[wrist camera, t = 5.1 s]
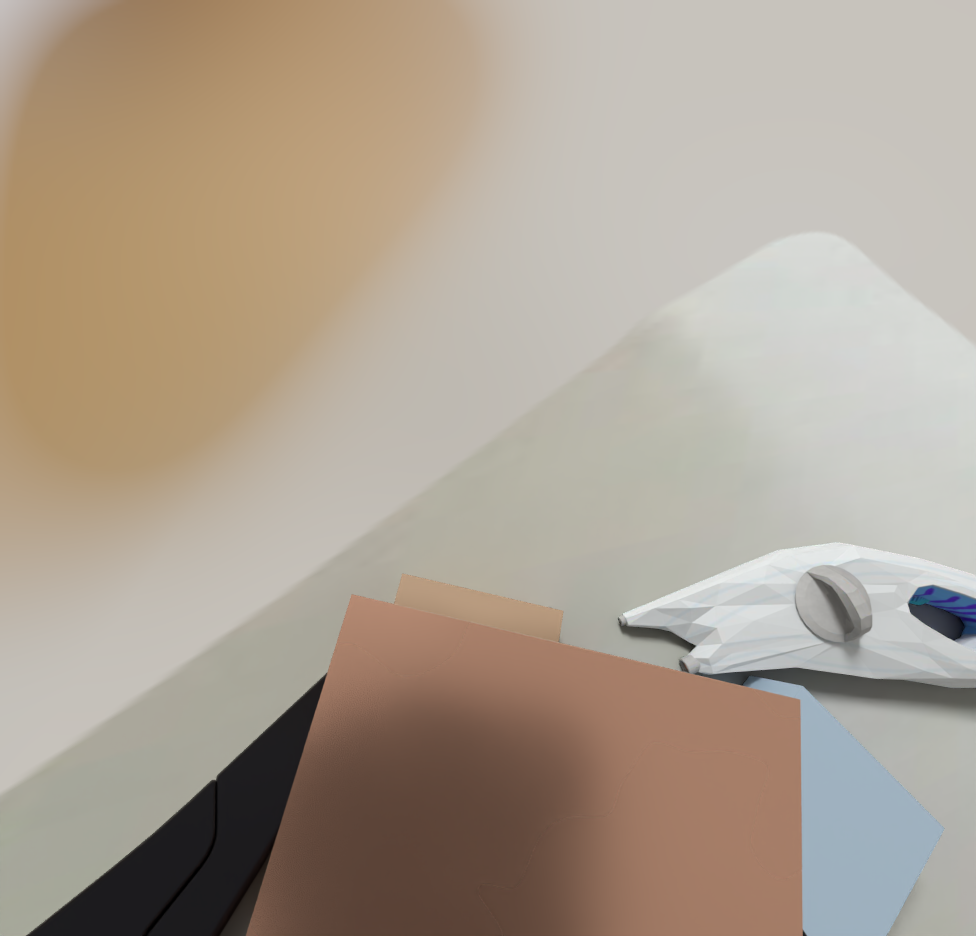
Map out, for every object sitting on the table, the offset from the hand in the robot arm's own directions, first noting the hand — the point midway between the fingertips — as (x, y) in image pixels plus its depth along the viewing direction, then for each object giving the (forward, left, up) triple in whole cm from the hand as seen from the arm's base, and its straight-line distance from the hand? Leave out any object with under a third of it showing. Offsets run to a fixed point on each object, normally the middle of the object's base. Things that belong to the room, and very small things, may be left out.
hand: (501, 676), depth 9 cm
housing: (-1, 0, -4) cm, 4 cm away
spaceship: (+8, -17, -14) cm, 24 cm away
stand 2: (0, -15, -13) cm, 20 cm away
